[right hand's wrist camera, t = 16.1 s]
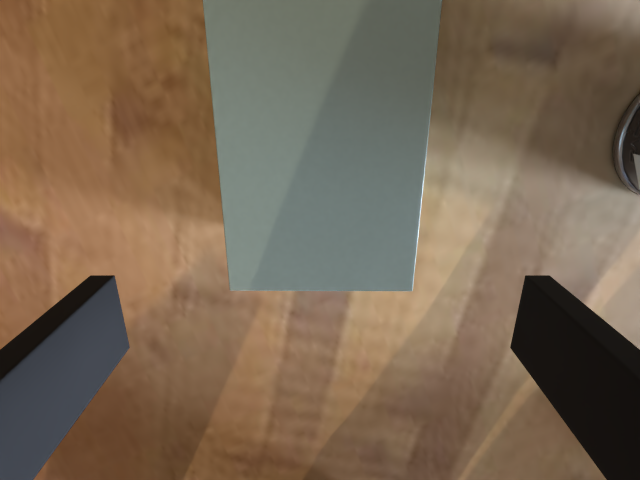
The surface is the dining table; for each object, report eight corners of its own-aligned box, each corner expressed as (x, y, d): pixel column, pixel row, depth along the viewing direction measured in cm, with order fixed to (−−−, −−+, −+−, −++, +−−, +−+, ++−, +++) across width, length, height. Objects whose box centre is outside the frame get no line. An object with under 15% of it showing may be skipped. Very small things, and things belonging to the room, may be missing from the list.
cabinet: (234, -103, 23) (182, -214, 14) (410, -102, 23) (464, -213, 14) (255, 231, 31) (229, 290, 22) (386, 232, 31) (412, 291, 22)
